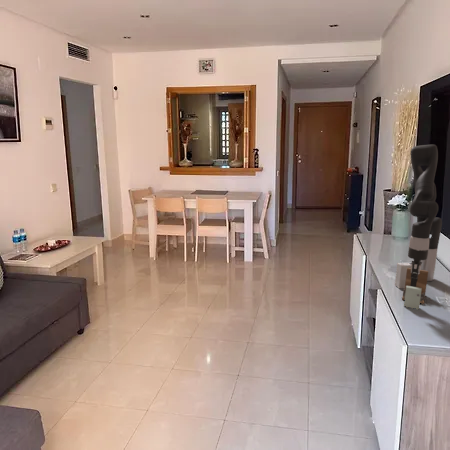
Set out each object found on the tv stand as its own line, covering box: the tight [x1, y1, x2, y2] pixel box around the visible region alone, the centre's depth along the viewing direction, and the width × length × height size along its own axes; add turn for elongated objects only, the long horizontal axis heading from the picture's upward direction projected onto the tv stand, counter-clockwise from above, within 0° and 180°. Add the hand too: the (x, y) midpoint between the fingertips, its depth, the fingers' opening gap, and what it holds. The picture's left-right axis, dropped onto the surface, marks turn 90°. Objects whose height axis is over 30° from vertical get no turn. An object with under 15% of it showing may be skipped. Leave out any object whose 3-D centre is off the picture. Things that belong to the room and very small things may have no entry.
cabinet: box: [401, 268, 428, 305], centre depth 188 cm, size 12×9×12 cm
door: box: [403, 286, 422, 310], centre depth 177 cm, size 3×6×9 cm, turn 62°
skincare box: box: [394, 262, 411, 289], centre depth 201 cm, size 6×4×12 cm
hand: (413, 283), depth 176 cm, fingers open, 8 cm apart
